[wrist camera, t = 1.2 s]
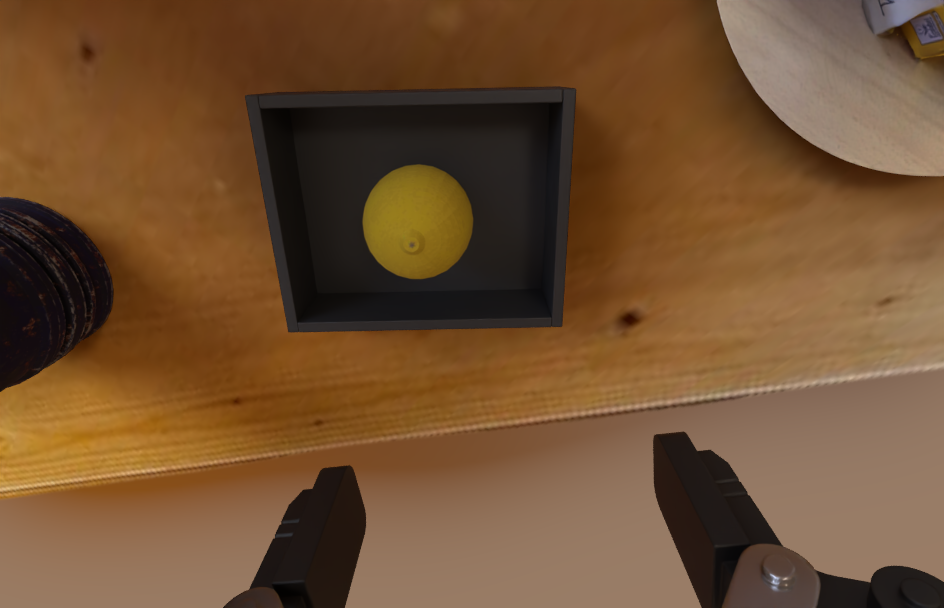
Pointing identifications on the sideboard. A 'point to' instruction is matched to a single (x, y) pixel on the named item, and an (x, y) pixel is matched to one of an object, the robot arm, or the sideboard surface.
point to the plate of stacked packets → (849, 75)
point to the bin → (410, 143)
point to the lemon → (417, 221)
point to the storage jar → (46, 289)
